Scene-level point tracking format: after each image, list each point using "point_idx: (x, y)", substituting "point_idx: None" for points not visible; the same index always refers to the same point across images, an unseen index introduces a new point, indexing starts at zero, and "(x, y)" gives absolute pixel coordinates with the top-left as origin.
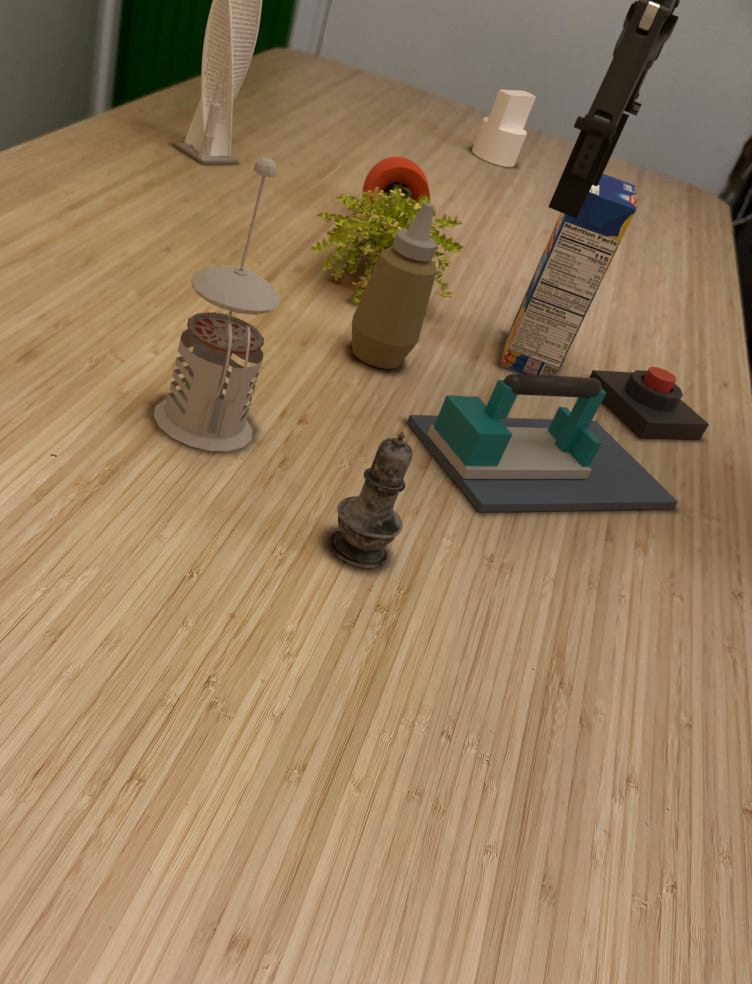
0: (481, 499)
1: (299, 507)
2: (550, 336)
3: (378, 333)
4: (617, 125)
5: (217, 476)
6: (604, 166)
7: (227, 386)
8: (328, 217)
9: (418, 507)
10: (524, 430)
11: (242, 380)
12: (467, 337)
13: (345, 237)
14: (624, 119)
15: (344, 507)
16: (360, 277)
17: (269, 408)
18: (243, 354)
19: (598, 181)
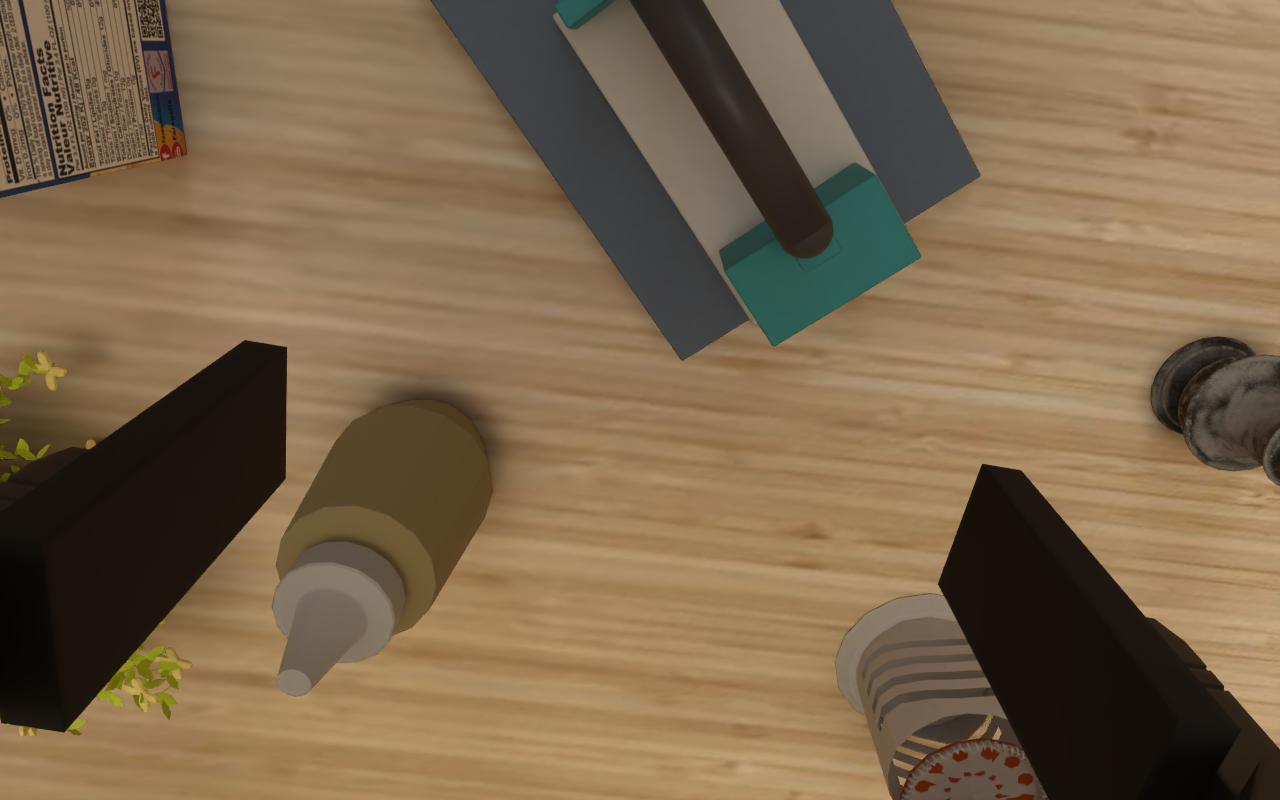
0: (962, 179)
1: (1110, 491)
2: (97, 61)
3: (487, 500)
4: (106, 540)
5: None
6: (237, 393)
7: None
8: None
9: (1012, 297)
10: (624, 97)
11: None
12: (96, 252)
13: (142, 665)
14: (62, 542)
15: (1245, 462)
16: None
17: (801, 588)
18: (889, 721)
19: (273, 359)
